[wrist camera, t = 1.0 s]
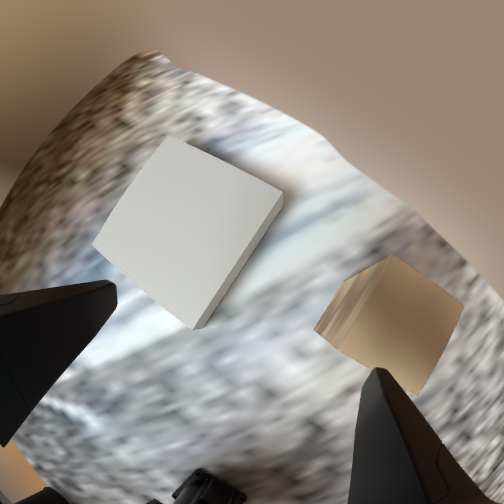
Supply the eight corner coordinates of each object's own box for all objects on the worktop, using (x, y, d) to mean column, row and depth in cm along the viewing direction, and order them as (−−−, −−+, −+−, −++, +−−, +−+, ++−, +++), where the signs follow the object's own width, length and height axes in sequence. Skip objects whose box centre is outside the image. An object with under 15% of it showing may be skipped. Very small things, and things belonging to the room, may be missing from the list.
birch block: (357, 356, 23) (417, 395, 10) (313, 329, 24) (337, 349, 11) (385, 309, 23) (464, 305, 11) (342, 282, 24) (392, 253, 12)
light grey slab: (202, 328, 25) (192, 330, 22) (108, 250, 28) (92, 244, 25) (283, 204, 26) (283, 191, 24) (177, 149, 30) (168, 135, 27)
